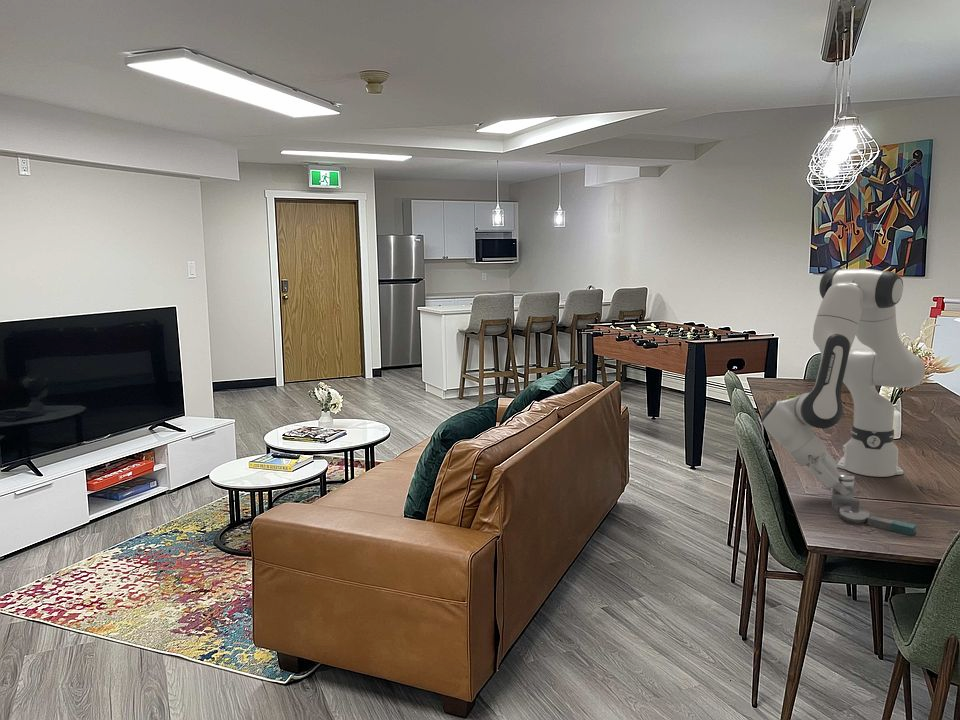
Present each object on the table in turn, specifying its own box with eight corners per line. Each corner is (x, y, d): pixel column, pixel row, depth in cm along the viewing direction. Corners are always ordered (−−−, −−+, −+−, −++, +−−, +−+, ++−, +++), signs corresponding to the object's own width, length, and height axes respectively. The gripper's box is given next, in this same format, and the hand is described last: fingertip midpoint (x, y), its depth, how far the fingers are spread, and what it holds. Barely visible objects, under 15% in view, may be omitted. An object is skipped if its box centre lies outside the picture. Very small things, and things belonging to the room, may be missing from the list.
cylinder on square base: (830, 501, 202) (833, 471, 201) (851, 504, 200) (854, 473, 198) (831, 507, 197) (833, 476, 196) (853, 510, 195) (855, 479, 194)
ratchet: (835, 520, 189) (836, 500, 188) (844, 513, 193) (845, 493, 193) (910, 538, 176) (912, 517, 176) (917, 530, 181) (919, 509, 180)
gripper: (818, 454, 189) (857, 494, 187) (817, 436, 208) (853, 472, 205) (799, 468, 192) (837, 508, 189) (800, 449, 210) (834, 485, 208)
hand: (845, 489), depth 198 cm, fingers open, 6 cm apart
